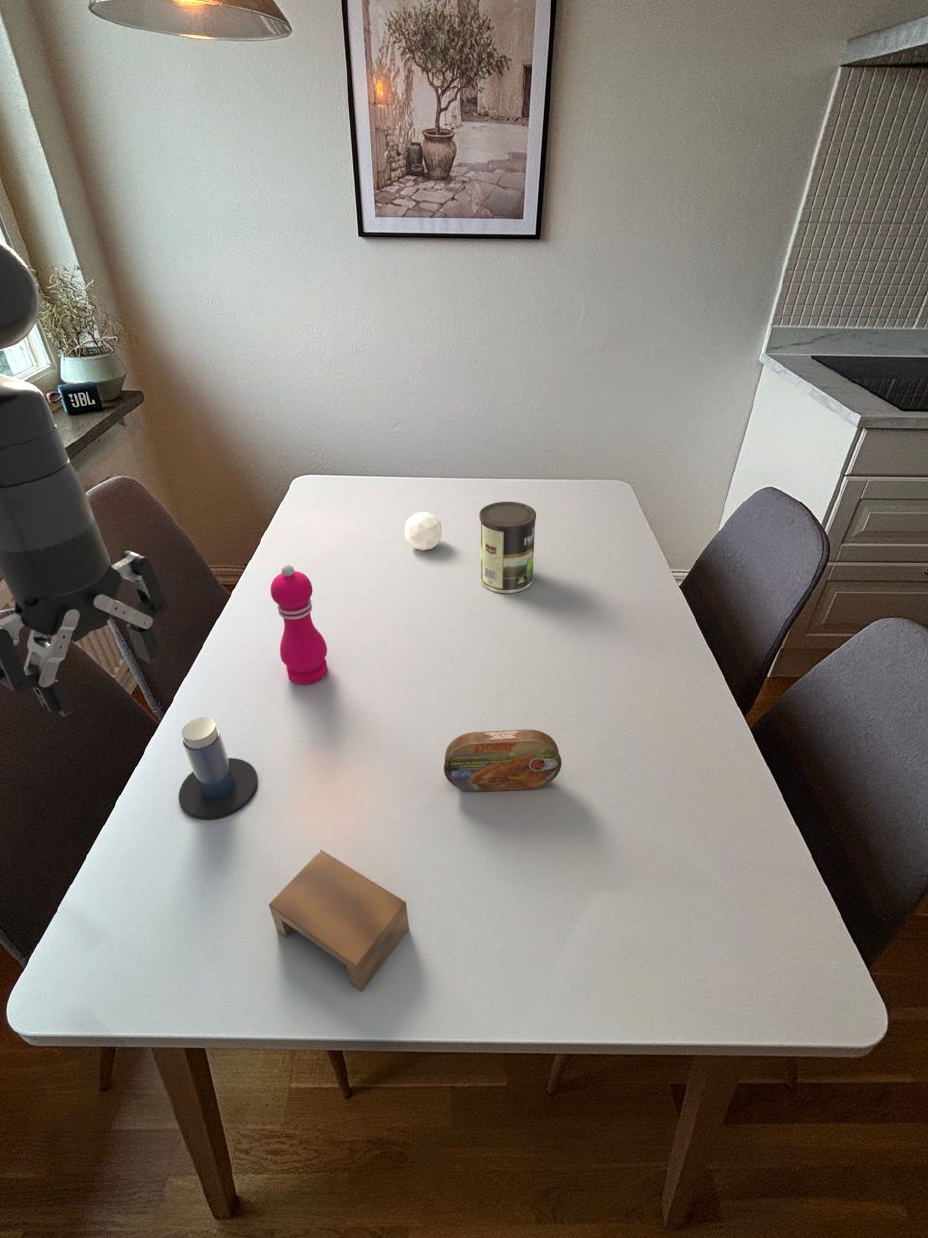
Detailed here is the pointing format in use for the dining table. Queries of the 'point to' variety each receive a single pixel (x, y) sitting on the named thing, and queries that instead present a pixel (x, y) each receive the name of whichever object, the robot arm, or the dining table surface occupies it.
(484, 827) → the dining table surface
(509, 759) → the tin
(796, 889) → the dining table surface
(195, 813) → the mat
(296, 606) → the pepper mill
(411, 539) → the geometric ball
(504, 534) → the coffee can
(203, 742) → the cylinder
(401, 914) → the shelf
